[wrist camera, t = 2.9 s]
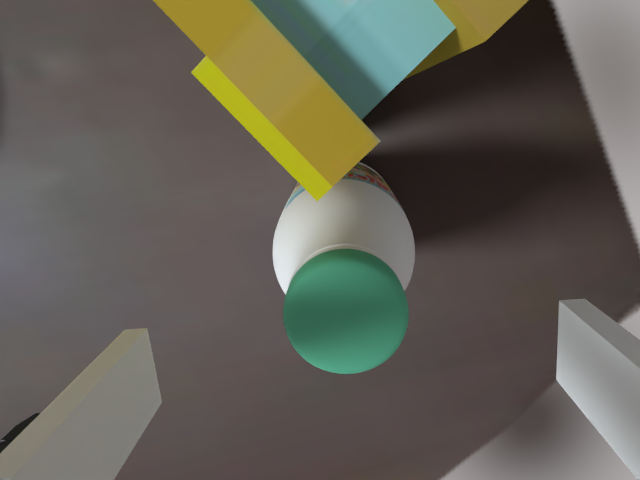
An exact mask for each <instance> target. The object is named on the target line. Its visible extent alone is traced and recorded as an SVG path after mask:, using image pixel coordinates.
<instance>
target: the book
mask: <svg viewBox="0 0 640 480" xmlns="http://www.w3.org/2000/svg"><path fill="white" fill-rule="evenodd" d="M153 1H154V2H155V3H156V4H157V5H158V6H159V7H160V8H161V9H162V10H163V11H164V12H165V13H166V14H167V15H168V16H169V17H170V18H171V19H172V21H173V22H174V23H175V24H176V25H177V26H178V27H179V28H180V29H181V30H182V31H183V32H184V33H185V34H186V35H187V36H188V37H189V38H190V39H191V40H192V41H193V42H194V43H195V44H196V45H197V47H198V48H199V49H200V50H201V51H202V52H203V53H204V54H205V55H206V57H205V58H204V59H203V60H202V61H201V62H200V63H199V64H198V65H197V67H196V68H195V69H194V70H193V71H192V72H191V73H192V74H193V75H194V76H195V77H196V78H197V79H198V80H199V81H200V82H201V83H202V84H203V85H204V86H205V87H206V88H207V89H208V90H209V91H210V92H211V93H212V94H213V95H214V96H215V97H216V98H217V99H218V100H219V101H220V103H221V104H222V105H223V106H224V107H225V108H226V109H227V110H228V111H229V112H230V113H231V114H232V115H233V116H234V117H235V118H236V119H237V120H238V121H239V122H240V123H241V124H242V125H243V126H244V127H245V128H246V129H247V130H248V131H249V132H250V133H251V134H252V135H253V136H254V137H255V138H256V139H257V140H258V141H259V142H260V143H261V144H262V146H263V147H264V148H265V149H266V150H267V151H268V152H269V153H270V154H271V155H272V156H273V157H274V158H275V159H276V160H277V161H278V162H279V163H280V164H281V165H282V166H283V167H284V168H285V169H286V170H287V171H288V172H289V173H290V174H291V175H292V176H293V177H294V178H295V179H296V180H297V181H298V182H299V183H300V184H301V185H302V186H303V187H304V189H305V190H306V191H307V192H308V193H309V194H310V195H311V196H312V197H313V198H314V199H315V200H316V201H318V200H319V199H320V198H322V197H323V196H324V195H325V194H326V193H327V192H328V191H329V190H330V189H331V188H332V187H333V186H334V185H335V184H336V183H337V182H338V181H339V180H340V179H341V178H342V177H343V176H344V175H345V174H347V173H348V172H349V171H350V170H351V169H352V168H353V167H354V166H355V165H356V164H357V163H358V162H359V161H360V160H361V159H362V158H363V157H364V156H365V155H367V154H368V153H369V152H370V151H371V150H372V149H373V148H374V147H375V146H376V145H377V144H378V143H379V142H380V140H379V139H378V138H377V137H376V136H375V135H374V133H373V132H372V131H371V130H370V129H369V128H368V127H367V126H366V125H365V124H364V123H363V122H362V119H363V118H364V117H365V116H366V115H367V114H368V113H369V112H370V111H371V110H372V109H373V108H374V107H375V106H376V105H377V104H378V103H379V102H380V101H381V100H382V99H383V98H384V97H385V96H386V95H387V94H388V93H389V92H390V91H392V90H393V89H394V88H395V87H396V86H397V85H398V84H399V83H400V82H401V81H402V80H404V79H406V78H408V77H411V76H413V75H415V74H417V73H419V72H421V71H423V70H426V69H428V68H430V67H432V66H434V65H436V64H438V63H440V62H443V61H445V60H447V59H449V58H451V57H453V56H455V55H457V54H460V53H462V52H464V51H466V50H468V49H470V48H472V47H475V46H477V45H479V44H481V43H483V42H485V41H486V40H487V39H488V38H490V37H491V36H492V35H493V34H494V33H495V32H496V31H497V30H498V29H499V28H500V27H501V26H502V25H503V24H504V23H505V22H506V21H507V20H508V19H510V18H511V17H512V16H513V15H514V14H515V13H516V12H517V11H518V10H519V9H520V8H521V7H522V6H523V5H524V4H525V3H526V2H527V1H528V0H153Z"/></svg>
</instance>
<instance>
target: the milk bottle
mask: <svg viewBox="0 0 640 480" xmlns="http://www.w3.org/2000/svg"><path fill="white" fill-rule="evenodd" d="M414 261H415V246H414V238H413V233H412V229H411V226H410V224H409V221H408V219H407V217H406V214H405V212H404V210H403V209H402V207H401V205H400V204H399V202H398V200H397V199H396V197H395V195H394V194H393V192H392V191H391V189H390V188H389V186H388V185H387V183H386V182H385V180H384V179H383V178H382V177H381V176H380V175H379V174H378V173H377V172H376V171H375V170H373V169H372V168H371V167H369V166H367V165H365V164H363V163H361V162H358V163H357V164H356V165H355V166H354V167H353V168H352V169H351V170H350V171H349V172H348V173H347V174H345V175H344V176H343V177H342V178H341V179H340V180H339V181H338V182H337V183H336V184H335V185H334V186H333V187H332V188H331V189H330V190H329V191H328V192H327V193H326V194H325V195H324V196H323V197H322V198H320V199H319V200H318V201H316V200H315V199H314V198H313V197H312V196H311V195H310V194H309V193H308V192H307V191H306V190H305V189H304V187H303V186H302V185H301V184H300V183H298V184H297V186H296V187H295V189H294V191H293V193H292V195H291V196H290V198H289V200H288V202H287V204H286V206H285V208H284V210H283V212H282V214H281V216H280V219H279V222H278V225H277V228H276V231H275V235H274V240H273V263H274V269H275V272H276V276H277V279H278V281H279V284H280V286H281V288H282V290H283V291H284V293H285V294H286V296H285V301H284V308H283V320H284V326H285V330H286V333H287V335H288V338H289V340H290V342H291V344H292V345H293V347H294V348H295V350H296V351H297V352H298V353H299V354H300V355H301V356H302V357H303V358H304V359H305V360H306V361H308V362H309V363H311V364H312V365H314V366H316V367H318V368H320V369H323V370H325V371H329V372H333V373H340V374H353V373H359V372H364V371H367V370H370V369H372V368H374V367H376V366H378V365H380V364H382V363H383V362H384V361H386V360H387V359H388V358H389V357H390V356H392V354H393V353H394V352H395V351H396V350H397V348H398V347H399V345H400V344H401V342H402V340H403V338H404V335H405V332H406V329H407V325H408V318H409V311H408V304H407V299H406V295H405V292H404V291H405V289H406V288H407V286H408V283H409V281H410V278H411V275H412V271H413V267H414Z"/></svg>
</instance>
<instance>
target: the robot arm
mask: <svg viewBox="0 0 640 480" xmlns="http://www.w3.org/2000/svg"><path fill="white" fill-rule="evenodd" d="M556 380H557V381H558V383H559V384H560V385H561V386H562V387H563V389H564V390H565V391H566V392H567V393H568V395H569V396H570V397H571V398H572V400H573V401H574V402H575V403H576V405H577V406H578V407H579V408H580V409H581V411H582V412H583V413H584V414H585V416H586V417H587V418H588V419H589V420H590V422H591V423H592V424H593V425H594V427H595V428H596V429H597V430H598V432H599V433H600V434H601V435H602V436H603V438H604V439H605V440H606V441H607V443H608V444H609V445H610V446H611V448H612V449H613V450H614V451H615V452H616V454H617V455H618V456H619V457H620V458H621V460H622V461H623V462H624V463H625V465H626V466H627V467H628V468H629V470H630V471H631V472H632V473H633V474H634V476H635V477H636V478H637V479H638V480H640V340H639V339H638V338H636V337H635V336H634V335H632V334H631V333H630V332H628V331H627V330H625V329H624V328H623V327H622V326H620V325H619V324H618V323H616V322H615V321H614V320H612V319H611V318H610V317H608V316H607V315H606V314H604V313H603V312H602V311H600V310H599V309H598V308H596V307H595V306H594V305H592V304H591V303H590V302H588V301H587V300H586V299H574V300H559V321H558V348H557V375H556ZM161 403H162V400H161V395H160V390H159V385H158V380H157V375H156V370H155V365H154V360H153V355H152V350H151V345H150V339H149V334H148V329H147V328H143V329H129V330H124V331H123V332H122V333H121V334H120V335H119V336H118V337H117V338H116V339H115V340H114V341H113V342H112V343H111V344H110V345H109V346H108V347H107V348H106V349H105V350H104V351H103V352H102V353H101V354H100V355H99V356H98V357H97V358H96V359H95V360H94V361H93V362H92V363H91V364H90V365H89V366H88V367H87V368H86V369H85V370H84V371H83V372H82V373H81V374H80V375H79V376H78V377H77V378H76V379H75V380H74V381H73V382H72V383H71V384H70V385H69V386H68V387H67V388H65V389H64V390H63V391H62V392H61V393H60V394H59V395H58V396H57V397H56V398H55V399H54V400H53V401H52V402H51V403H50V404H49V405H48V406H47V407H46V408H45V409H44V410H43V411H42V412H41V413H36V414H34V415H32V416H31V417H29V418H28V419H26V420H24V421H23V422H21V423H20V424H18V425H16V426H15V427H14V428H13V429H12V430H11V431H10V432H9V433H8V434H7V435H6V436H5V437H4V438H3V439H2V440H1V443H0V480H114V479H115V477H116V475H117V474H118V472H119V471H120V469H121V467H122V466H123V464H124V462H125V461H126V459H127V458H128V456H129V454H130V453H131V451H132V450H133V448H134V446H135V445H136V443H137V442H138V440H139V438H140V437H141V435H142V434H143V432H144V430H145V429H146V427H147V425H148V424H149V422H150V421H151V419H152V417H153V416H154V414H155V413H156V411H157V409H158V408H159V406H160V405H161Z"/></svg>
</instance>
